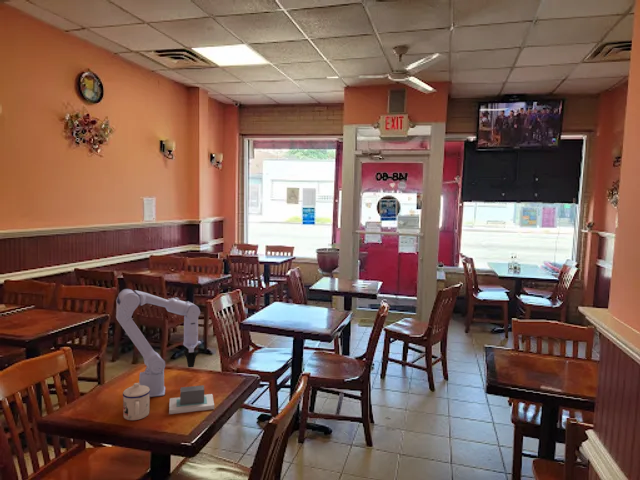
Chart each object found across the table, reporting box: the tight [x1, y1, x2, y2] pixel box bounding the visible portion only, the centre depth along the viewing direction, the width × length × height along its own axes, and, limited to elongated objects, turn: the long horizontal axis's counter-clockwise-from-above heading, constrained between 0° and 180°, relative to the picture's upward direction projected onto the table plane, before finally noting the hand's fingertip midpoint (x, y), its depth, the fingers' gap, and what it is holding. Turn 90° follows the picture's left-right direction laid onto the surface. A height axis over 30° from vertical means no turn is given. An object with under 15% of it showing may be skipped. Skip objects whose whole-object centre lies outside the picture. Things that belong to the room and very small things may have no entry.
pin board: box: [168, 393, 215, 415], centre depth 162 cm, size 16×10×5 cm, turn 108°
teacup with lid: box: [122, 382, 150, 421], centre depth 152 cm, size 12×9×12 cm
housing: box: [179, 384, 205, 405], centre depth 162 cm, size 9×4×5 cm, turn 108°
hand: (190, 363), depth 180 cm, fingers open, 7 cm apart
